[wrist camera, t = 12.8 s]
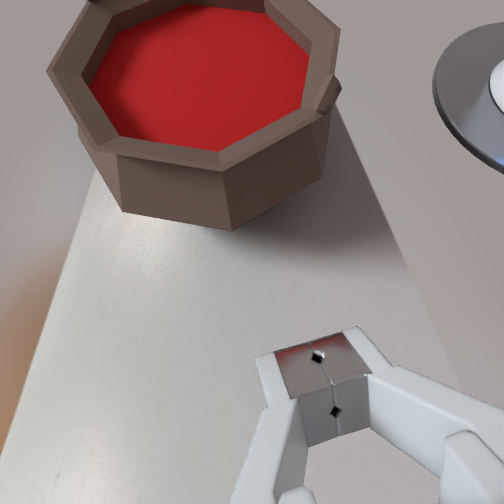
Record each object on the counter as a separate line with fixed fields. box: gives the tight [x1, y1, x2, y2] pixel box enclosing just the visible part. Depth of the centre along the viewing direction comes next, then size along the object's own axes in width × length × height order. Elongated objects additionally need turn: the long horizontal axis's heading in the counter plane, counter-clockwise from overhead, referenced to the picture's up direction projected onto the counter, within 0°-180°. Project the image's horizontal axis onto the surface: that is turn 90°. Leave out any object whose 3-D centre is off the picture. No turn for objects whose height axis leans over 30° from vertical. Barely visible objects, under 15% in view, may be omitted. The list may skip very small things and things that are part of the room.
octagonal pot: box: [46, 0, 342, 231], centre depth 28 cm, size 24×24×16 cm
